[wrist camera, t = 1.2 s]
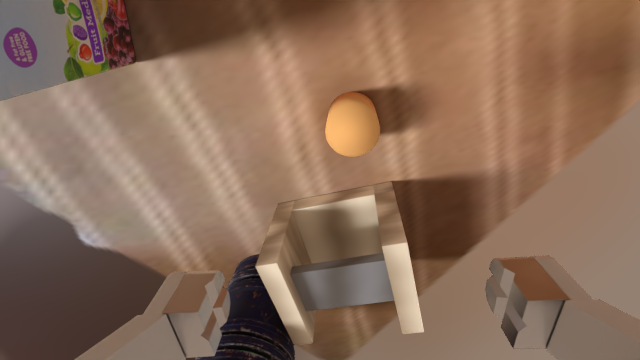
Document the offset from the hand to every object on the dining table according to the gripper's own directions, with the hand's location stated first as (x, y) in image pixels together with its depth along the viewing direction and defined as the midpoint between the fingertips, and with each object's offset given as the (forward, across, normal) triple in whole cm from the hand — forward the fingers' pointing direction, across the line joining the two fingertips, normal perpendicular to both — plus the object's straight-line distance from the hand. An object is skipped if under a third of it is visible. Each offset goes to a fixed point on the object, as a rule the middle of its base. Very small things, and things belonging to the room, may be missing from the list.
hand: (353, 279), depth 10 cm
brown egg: (+23, -1, +1) cm, 23 cm away
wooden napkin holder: (+23, 0, +15) cm, 27 cm away
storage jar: (+24, +11, +23) cm, 35 cm away
